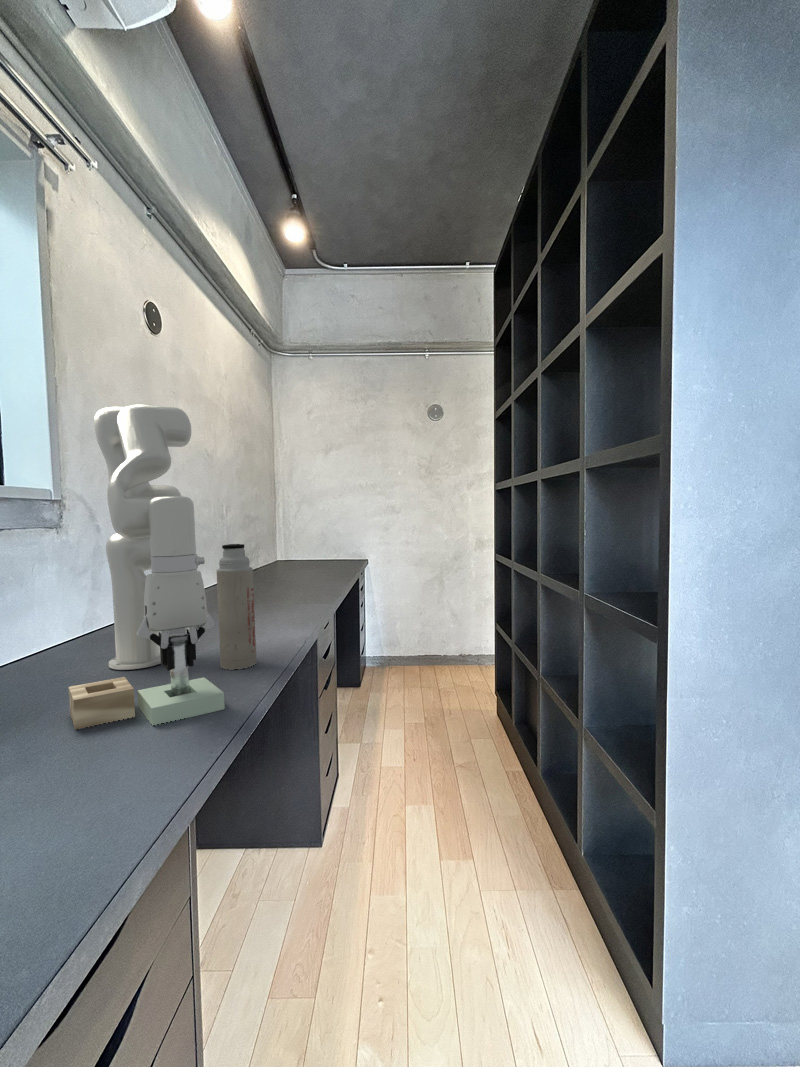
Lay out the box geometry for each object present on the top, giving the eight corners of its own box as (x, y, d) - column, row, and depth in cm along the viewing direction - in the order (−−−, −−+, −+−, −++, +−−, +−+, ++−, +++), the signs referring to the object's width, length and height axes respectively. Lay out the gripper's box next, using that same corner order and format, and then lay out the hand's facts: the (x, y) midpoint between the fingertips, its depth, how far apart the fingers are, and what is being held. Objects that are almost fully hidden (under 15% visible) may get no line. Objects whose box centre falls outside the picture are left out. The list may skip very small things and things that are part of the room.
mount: (70, 714, 98) (68, 686, 97) (125, 703, 103) (124, 676, 103) (75, 730, 90) (73, 700, 90) (135, 717, 96) (133, 688, 95)
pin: (167, 702, 100) (163, 635, 99) (189, 697, 102) (185, 632, 102) (172, 707, 97) (168, 638, 96) (194, 702, 99) (191, 635, 98)
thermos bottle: (262, 660, 130) (257, 542, 129) (246, 670, 122) (241, 545, 121) (231, 659, 132) (226, 543, 131) (213, 669, 124) (208, 545, 123)
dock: (138, 706, 101) (137, 690, 101) (204, 692, 108) (204, 677, 108) (152, 726, 91) (151, 708, 91) (224, 709, 98) (223, 692, 98)
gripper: (213, 560, 106) (217, 654, 107) (120, 567, 97) (125, 671, 98) (226, 563, 100) (230, 662, 101) (127, 570, 91) (133, 680, 91)
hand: (178, 665), depth 99 cm, fingers closed on pin, 3 cm apart
